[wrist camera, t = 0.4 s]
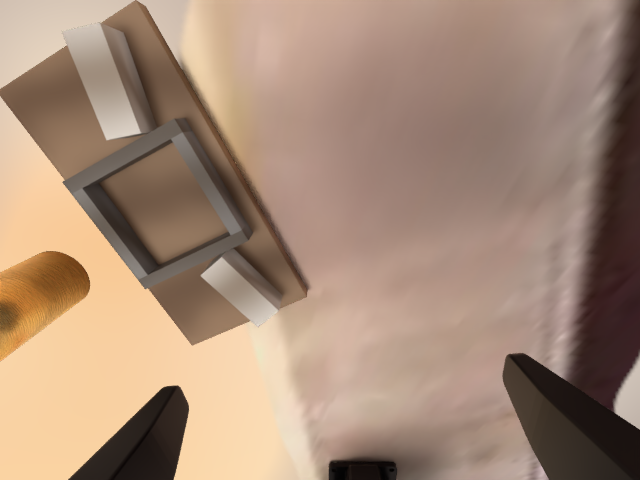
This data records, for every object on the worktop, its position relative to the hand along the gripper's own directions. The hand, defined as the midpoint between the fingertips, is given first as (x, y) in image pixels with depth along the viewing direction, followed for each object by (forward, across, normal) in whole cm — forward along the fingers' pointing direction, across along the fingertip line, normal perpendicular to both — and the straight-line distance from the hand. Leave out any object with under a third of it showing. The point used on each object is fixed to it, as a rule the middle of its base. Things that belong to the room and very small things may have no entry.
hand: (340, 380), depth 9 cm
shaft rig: (+14, +10, -1) cm, 18 cm away
